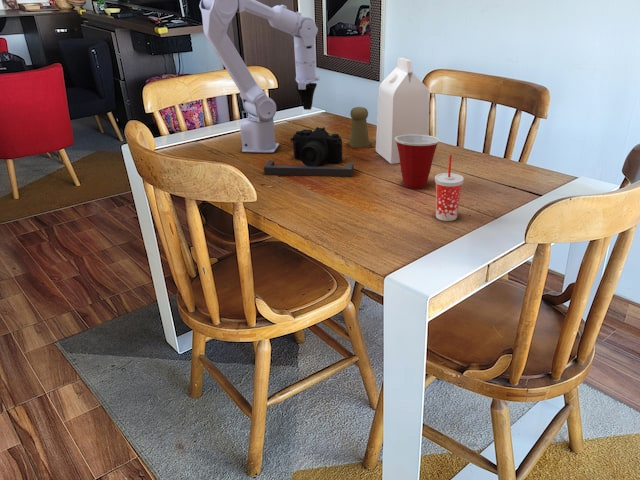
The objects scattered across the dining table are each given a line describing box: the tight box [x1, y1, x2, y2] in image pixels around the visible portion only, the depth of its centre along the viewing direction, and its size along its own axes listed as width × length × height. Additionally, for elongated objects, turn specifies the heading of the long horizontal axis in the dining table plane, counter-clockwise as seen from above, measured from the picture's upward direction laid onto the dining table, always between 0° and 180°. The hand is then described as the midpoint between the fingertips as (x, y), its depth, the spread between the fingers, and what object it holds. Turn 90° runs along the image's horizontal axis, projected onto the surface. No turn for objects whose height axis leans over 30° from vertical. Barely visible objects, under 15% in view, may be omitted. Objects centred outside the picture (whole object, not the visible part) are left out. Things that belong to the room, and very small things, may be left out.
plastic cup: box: [395, 134, 440, 190], centre depth 140 cm, size 11×11×12 cm
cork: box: [349, 106, 371, 149], centre depth 169 cm, size 6×6×11 cm
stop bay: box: [263, 159, 355, 177], centre depth 151 cm, size 23×6×2 cm, turn 85°
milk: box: [375, 56, 430, 165], centre depth 156 cm, size 12×12×26 cm
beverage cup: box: [434, 154, 465, 222], centre depth 122 cm, size 6×6×14 cm
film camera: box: [290, 126, 344, 167], centre depth 155 cm, size 15×10×9 cm, turn 72°
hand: (307, 109), depth 172 cm, fingers closed
